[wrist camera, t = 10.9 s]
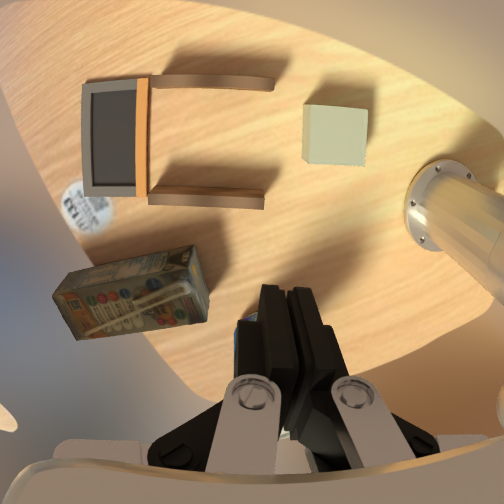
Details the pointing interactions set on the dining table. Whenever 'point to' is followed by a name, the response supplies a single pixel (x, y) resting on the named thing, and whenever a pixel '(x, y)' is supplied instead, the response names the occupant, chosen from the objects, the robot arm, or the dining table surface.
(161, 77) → the brown parallel walls
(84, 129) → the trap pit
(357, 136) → the block
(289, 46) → the dining table surface
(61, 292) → the beverage carton
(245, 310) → the dining table surface
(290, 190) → the dining table surface
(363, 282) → the dining table surface
